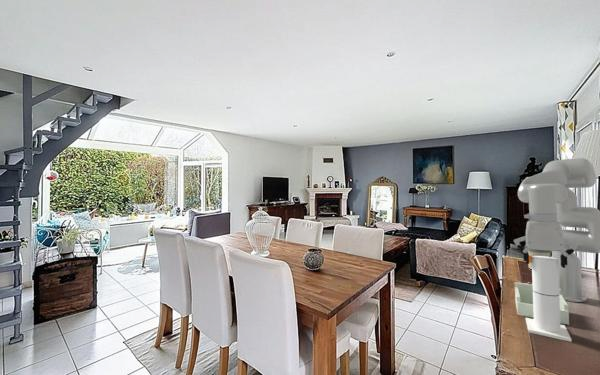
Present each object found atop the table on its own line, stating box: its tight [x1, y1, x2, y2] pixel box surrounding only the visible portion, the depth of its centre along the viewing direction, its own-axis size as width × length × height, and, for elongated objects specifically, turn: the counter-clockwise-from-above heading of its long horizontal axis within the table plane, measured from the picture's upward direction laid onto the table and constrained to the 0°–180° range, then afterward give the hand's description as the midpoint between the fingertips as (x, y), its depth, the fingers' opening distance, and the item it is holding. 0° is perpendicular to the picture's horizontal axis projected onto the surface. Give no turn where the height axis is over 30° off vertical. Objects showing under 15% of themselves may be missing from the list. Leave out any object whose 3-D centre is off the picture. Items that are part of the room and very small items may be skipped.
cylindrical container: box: [531, 256, 561, 332], centre depth 97 cm, size 7×7×25 cm
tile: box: [525, 317, 573, 343], centre depth 97 cm, size 11×11×1 cm
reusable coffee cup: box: [524, 244, 552, 270], centre depth 168 cm, size 13×13×15 cm
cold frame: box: [514, 281, 570, 326], centre depth 111 cm, size 15×15×9 cm
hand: (544, 264), depth 97 cm, fingers open, 9 cm apart
